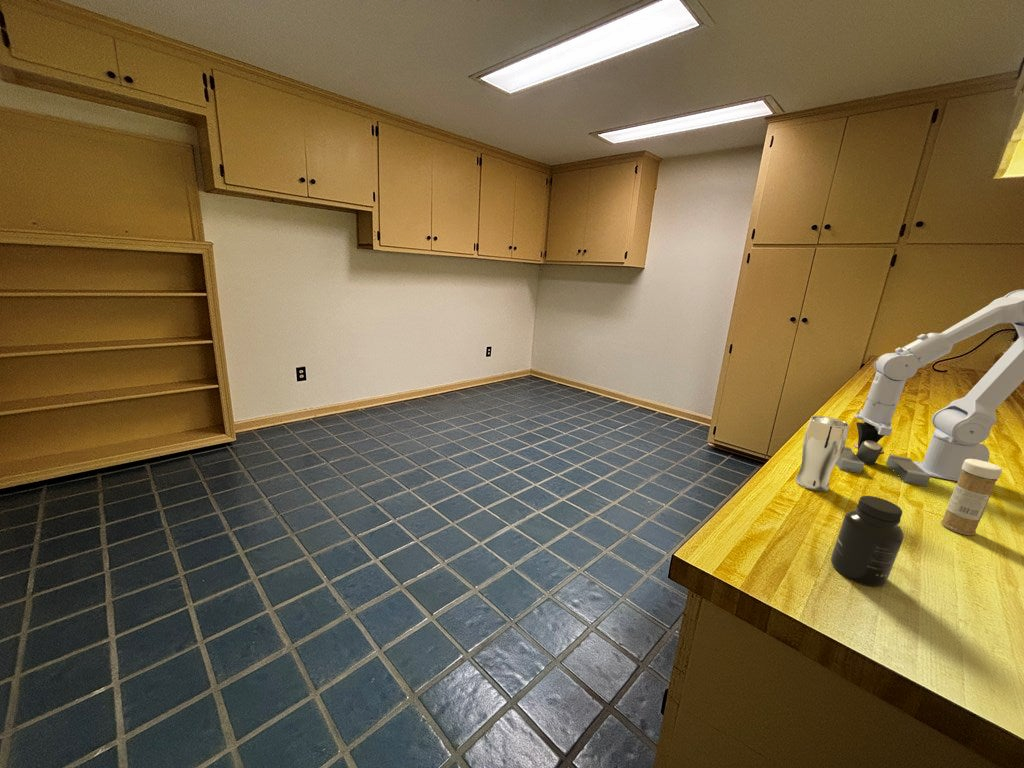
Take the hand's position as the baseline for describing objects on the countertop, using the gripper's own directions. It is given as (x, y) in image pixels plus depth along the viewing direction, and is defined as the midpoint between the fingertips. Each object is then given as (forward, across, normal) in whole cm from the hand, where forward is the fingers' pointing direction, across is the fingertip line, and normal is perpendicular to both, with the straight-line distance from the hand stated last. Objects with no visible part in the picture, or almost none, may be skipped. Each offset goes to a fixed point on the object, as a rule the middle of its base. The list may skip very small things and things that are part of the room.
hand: (863, 451), depth 104 cm
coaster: (+2, -10, +4) cm, 11 cm away
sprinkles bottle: (+2, +30, +6) cm, 31 cm away
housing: (+2, +6, +1) cm, 6 cm away
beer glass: (+2, +24, -16) cm, 29 cm away
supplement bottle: (+2, +54, -16) cm, 56 cm away
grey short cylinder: (+2, +1, 0) cm, 2 cm away
